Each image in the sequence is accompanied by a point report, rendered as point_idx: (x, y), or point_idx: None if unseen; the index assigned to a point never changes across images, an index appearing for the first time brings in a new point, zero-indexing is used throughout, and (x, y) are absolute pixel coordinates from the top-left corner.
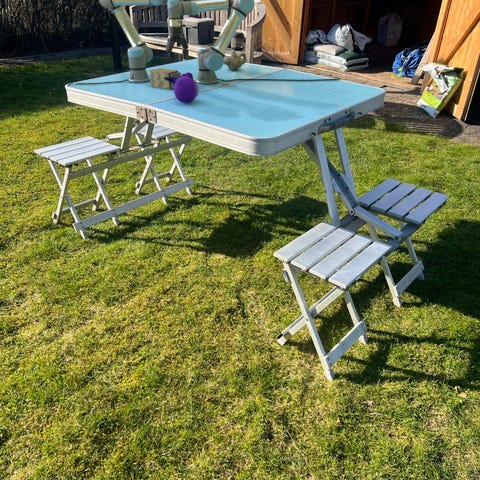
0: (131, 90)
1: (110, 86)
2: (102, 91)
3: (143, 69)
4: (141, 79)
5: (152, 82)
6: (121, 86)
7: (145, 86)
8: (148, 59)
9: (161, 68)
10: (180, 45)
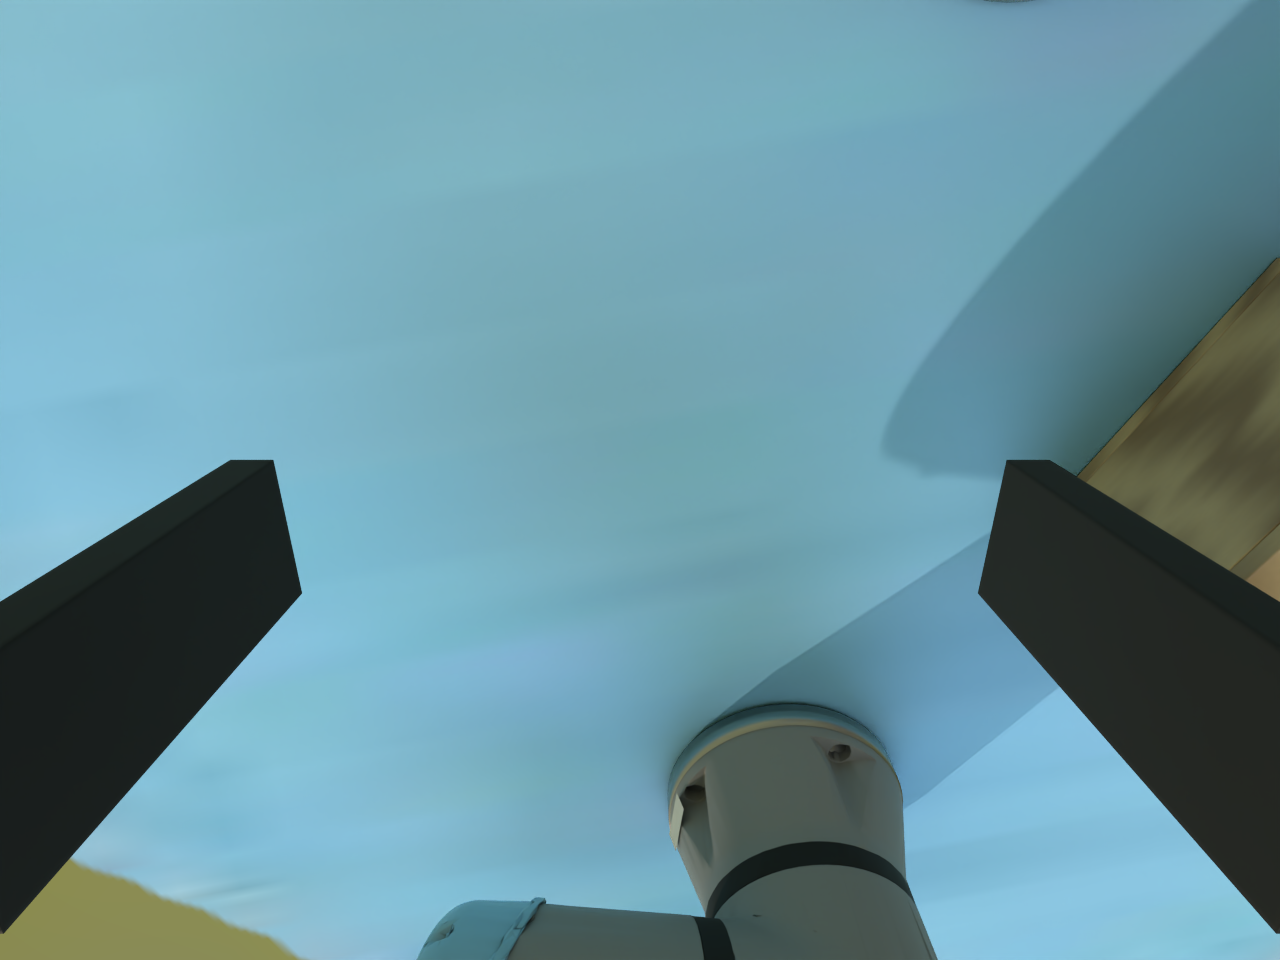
0: None
1: (1002, 949)
2: (1212, 953)
3: (872, 854)
4: (895, 779)
5: None
6: (1029, 875)
7: None
8: (642, 931)
9: None
10: (1055, 479)
